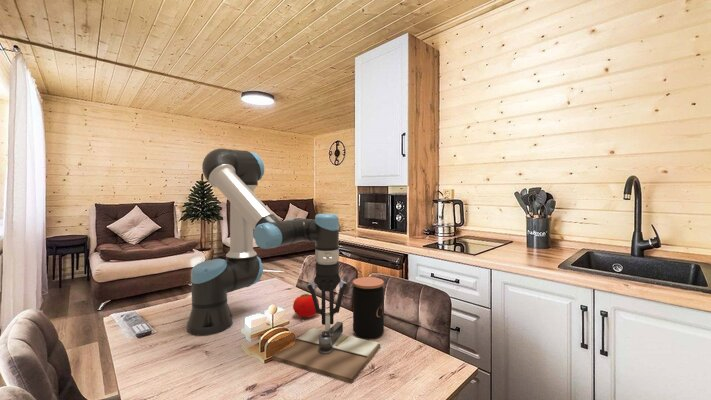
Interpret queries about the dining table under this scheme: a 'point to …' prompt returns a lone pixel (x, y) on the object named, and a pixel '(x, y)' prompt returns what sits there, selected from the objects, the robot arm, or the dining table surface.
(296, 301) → the tomato
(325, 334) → the swing bar
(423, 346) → the dining table surface
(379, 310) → the coffee jar
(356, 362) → the lock board
